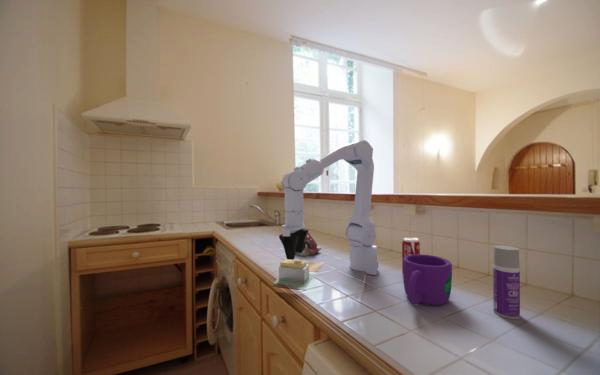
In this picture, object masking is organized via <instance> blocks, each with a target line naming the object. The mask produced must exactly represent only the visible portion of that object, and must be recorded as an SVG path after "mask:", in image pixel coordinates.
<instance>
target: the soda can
mask: <svg viewBox="0 0 600 375" xmlns="http://www.w3.org/2000/svg"><path fill="white" fill-rule="evenodd" d="M401 244H402V245H401V253H402V255H401V256H402V258H401V260H402V262H401V263H402V264H401V265H402V266H401V268H402V272H401V273H402V275H403V258H404V257H405V256H407V255H414V254H421V243H420V241H419V238H417V237H403V240H402V242H401Z"/></svg>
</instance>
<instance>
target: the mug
mask: <svg viewBox="0 0 600 375" xmlns="http://www.w3.org/2000/svg"><path fill="white" fill-rule="evenodd" d="M452 265H453V264H452V262H451V261H450V260H448V259H447V258H443V257H440V256H436V255H430V254H422V253H420V254H414V255H407V256H405V257H404V258H403V274H402V280H403V288H404V293H405V295H406V296H407V297H408V298H409V301H410V303H411V304H413V305H418V304H422V305H426V306H436V307H437V306H443V305H445V304H446V303H449V301H450V297H451V294H452V292H451V291H452V283H453V282H452V280H453V278H452V277H453V273H452V272H453V266H452Z"/></svg>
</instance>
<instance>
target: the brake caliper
mask: <svg viewBox="0 0 600 375" xmlns="http://www.w3.org/2000/svg"><path fill="white" fill-rule="evenodd" d="M321 250H322V246H318V243H317V242H316V241H315V238H313V237H312V235H311V234H310V232H309V231H308V233H307V235H306V238H305V242H304V247H303V251H302V253H296V252H295V256H299V257H300V256H301V257H308V256H313V255H315V254H318V253H319V252H320V251H321Z"/></svg>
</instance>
